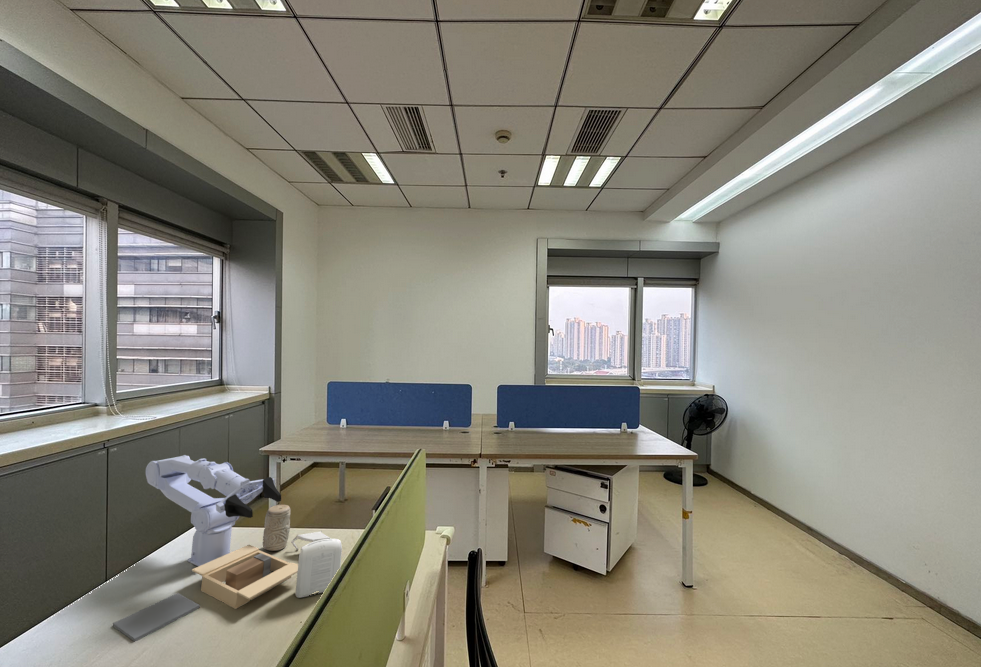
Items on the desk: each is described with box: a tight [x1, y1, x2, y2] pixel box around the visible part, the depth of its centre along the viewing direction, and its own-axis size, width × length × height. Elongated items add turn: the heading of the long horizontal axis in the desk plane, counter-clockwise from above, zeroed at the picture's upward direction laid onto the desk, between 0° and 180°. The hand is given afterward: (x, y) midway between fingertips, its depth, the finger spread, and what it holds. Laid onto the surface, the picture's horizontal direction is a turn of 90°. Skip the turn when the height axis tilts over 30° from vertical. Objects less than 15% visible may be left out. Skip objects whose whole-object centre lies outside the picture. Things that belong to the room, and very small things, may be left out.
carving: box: [262, 504, 291, 552], centre depth 117 cm, size 6×8×12 cm
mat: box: [112, 592, 201, 643], centre depth 86 cm, size 9×12×1 cm
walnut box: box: [224, 553, 271, 591], centre depth 99 cm, size 4×9×5 cm, turn 155°
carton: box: [191, 544, 298, 610], centre depth 99 cm, size 22×15×4 cm, turn 65°
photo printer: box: [295, 538, 343, 598], centre depth 99 cm, size 10×4×12 cm, turn 123°
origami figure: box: [291, 530, 331, 551], centre depth 116 cm, size 12×8×5 cm
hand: (266, 505), depth 101 cm, fingers open, 7 cm apart
